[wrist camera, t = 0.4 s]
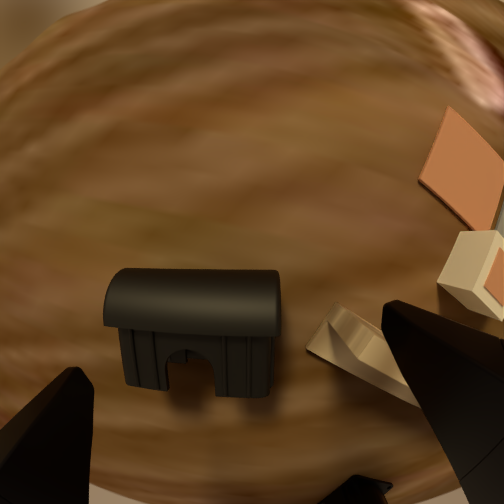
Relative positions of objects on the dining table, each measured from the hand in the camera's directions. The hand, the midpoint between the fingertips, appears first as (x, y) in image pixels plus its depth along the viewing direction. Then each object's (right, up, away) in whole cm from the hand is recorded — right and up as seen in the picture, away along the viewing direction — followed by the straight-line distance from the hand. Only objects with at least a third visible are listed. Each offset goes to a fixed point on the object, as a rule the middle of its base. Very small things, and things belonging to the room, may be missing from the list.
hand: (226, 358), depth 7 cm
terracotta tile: (+20, +10, +12) cm, 26 cm away
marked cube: (+19, +1, +13) cm, 23 cm away
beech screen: (+13, -7, +13) cm, 19 cm away
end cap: (-3, -2, +14) cm, 14 cm away
